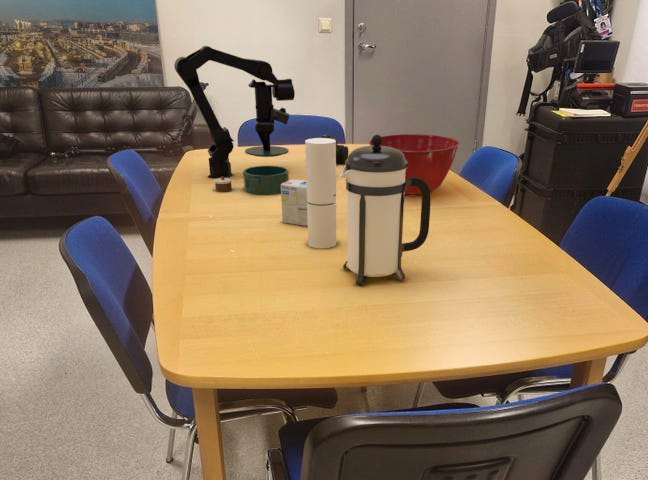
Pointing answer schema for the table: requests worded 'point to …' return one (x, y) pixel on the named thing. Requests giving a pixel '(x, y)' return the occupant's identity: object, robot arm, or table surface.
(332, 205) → the cylindrical container
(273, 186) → the pot
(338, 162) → the film camera
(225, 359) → the table surface
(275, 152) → the pot lid
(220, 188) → the cake
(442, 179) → the mixing bowl
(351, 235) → the coffee press
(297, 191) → the light bulb box
